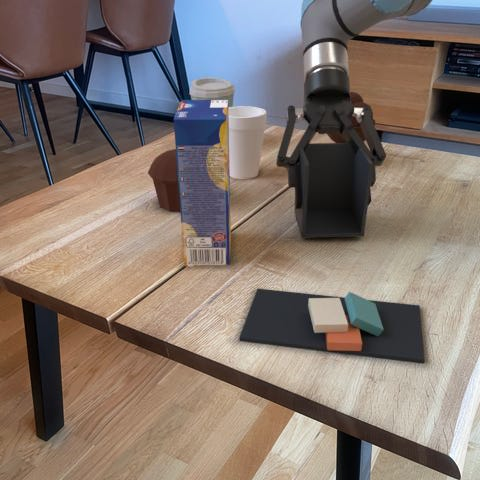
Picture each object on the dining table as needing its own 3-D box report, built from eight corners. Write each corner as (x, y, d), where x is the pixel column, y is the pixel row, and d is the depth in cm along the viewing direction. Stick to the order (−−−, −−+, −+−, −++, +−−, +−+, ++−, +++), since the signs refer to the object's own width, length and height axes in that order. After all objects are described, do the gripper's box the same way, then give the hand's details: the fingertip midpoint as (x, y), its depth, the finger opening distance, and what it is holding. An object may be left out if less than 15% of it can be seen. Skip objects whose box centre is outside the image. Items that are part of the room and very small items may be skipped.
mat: (418, 310, 74) (419, 305, 74) (423, 365, 65) (424, 359, 64) (257, 293, 78) (257, 288, 78) (239, 342, 68) (239, 337, 68)
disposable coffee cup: (245, 146, 135) (245, 80, 127) (213, 157, 129) (211, 88, 120) (214, 138, 141) (212, 74, 133) (183, 147, 135) (178, 81, 126)
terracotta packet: (328, 342, 65) (327, 350, 66) (362, 343, 65) (361, 351, 66) (324, 314, 70) (323, 322, 71) (356, 314, 70) (355, 322, 70)
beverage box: (230, 236, 93) (228, 99, 81) (229, 268, 84) (226, 119, 72) (190, 236, 93) (181, 99, 81) (184, 268, 84) (173, 119, 72)
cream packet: (314, 324, 66) (314, 332, 67) (348, 324, 66) (347, 332, 67) (308, 298, 71) (307, 306, 72) (339, 297, 71) (338, 305, 72)
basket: (294, 211, 98) (297, 143, 91) (351, 210, 98) (359, 142, 92) (301, 237, 89) (305, 164, 83) (364, 236, 90) (373, 163, 83)
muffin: (153, 218, 100) (147, 164, 94) (148, 196, 109) (143, 145, 103) (218, 212, 102) (216, 158, 96) (208, 191, 111) (206, 140, 105)
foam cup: (231, 185, 113) (230, 120, 106) (214, 171, 120) (212, 109, 113) (272, 178, 116) (274, 114, 109) (254, 165, 123) (254, 104, 116)
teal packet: (356, 317, 66) (350, 324, 67) (384, 329, 67) (378, 337, 68) (349, 291, 71) (344, 298, 72) (375, 303, 72) (370, 310, 73)
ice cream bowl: (310, 164, 124) (315, 93, 115) (342, 153, 130) (348, 85, 121) (348, 176, 117) (356, 102, 109) (380, 164, 123) (389, 93, 115)
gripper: (387, 92, 97) (396, 212, 92) (257, 93, 96) (260, 214, 92) (400, 65, 89) (411, 194, 85) (259, 66, 89) (263, 196, 85)
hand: (333, 205), depth 89 cm, fingers closed on basket, 10 cm apart
